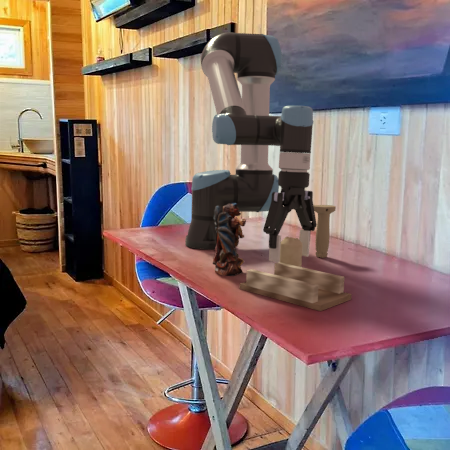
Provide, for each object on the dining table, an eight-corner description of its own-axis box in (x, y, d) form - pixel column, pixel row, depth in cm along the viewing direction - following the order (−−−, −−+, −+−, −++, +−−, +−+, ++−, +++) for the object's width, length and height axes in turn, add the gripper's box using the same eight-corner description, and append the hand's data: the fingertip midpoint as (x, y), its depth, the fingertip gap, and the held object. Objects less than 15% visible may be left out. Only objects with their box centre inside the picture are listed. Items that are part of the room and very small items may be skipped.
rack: (239, 288, 129) (240, 268, 129) (271, 279, 138) (272, 260, 137) (320, 311, 115) (321, 288, 114) (351, 299, 123) (352, 278, 123)
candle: (304, 275, 143) (306, 236, 141) (295, 280, 138) (297, 240, 136) (284, 272, 145) (286, 234, 144) (275, 276, 141) (276, 237, 139)
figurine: (258, 269, 147) (256, 200, 144) (246, 278, 138) (244, 205, 136) (220, 267, 151) (217, 200, 148) (206, 275, 143) (203, 204, 140)
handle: (334, 258, 163) (338, 207, 160) (313, 259, 162) (316, 207, 159) (329, 255, 167) (332, 204, 165) (308, 255, 166) (310, 204, 164)
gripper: (276, 172, 126) (271, 267, 129) (334, 171, 143) (328, 255, 146) (250, 170, 131) (246, 261, 134) (309, 169, 148) (304, 250, 151)
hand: (289, 258), depth 140 cm, fingers open, 11 cm apart
